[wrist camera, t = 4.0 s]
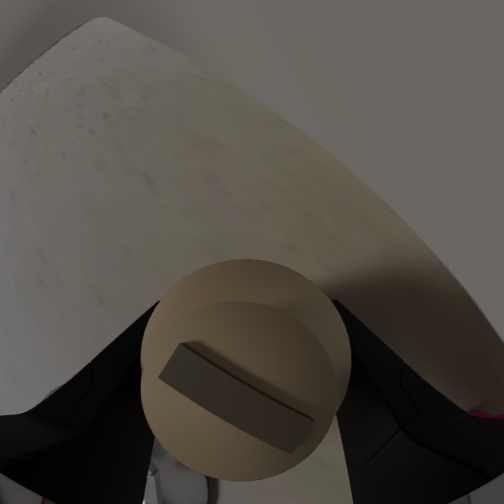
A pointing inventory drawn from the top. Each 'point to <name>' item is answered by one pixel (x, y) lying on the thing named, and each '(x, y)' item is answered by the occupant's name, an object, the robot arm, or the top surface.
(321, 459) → the top surface
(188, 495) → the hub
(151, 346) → the knob
